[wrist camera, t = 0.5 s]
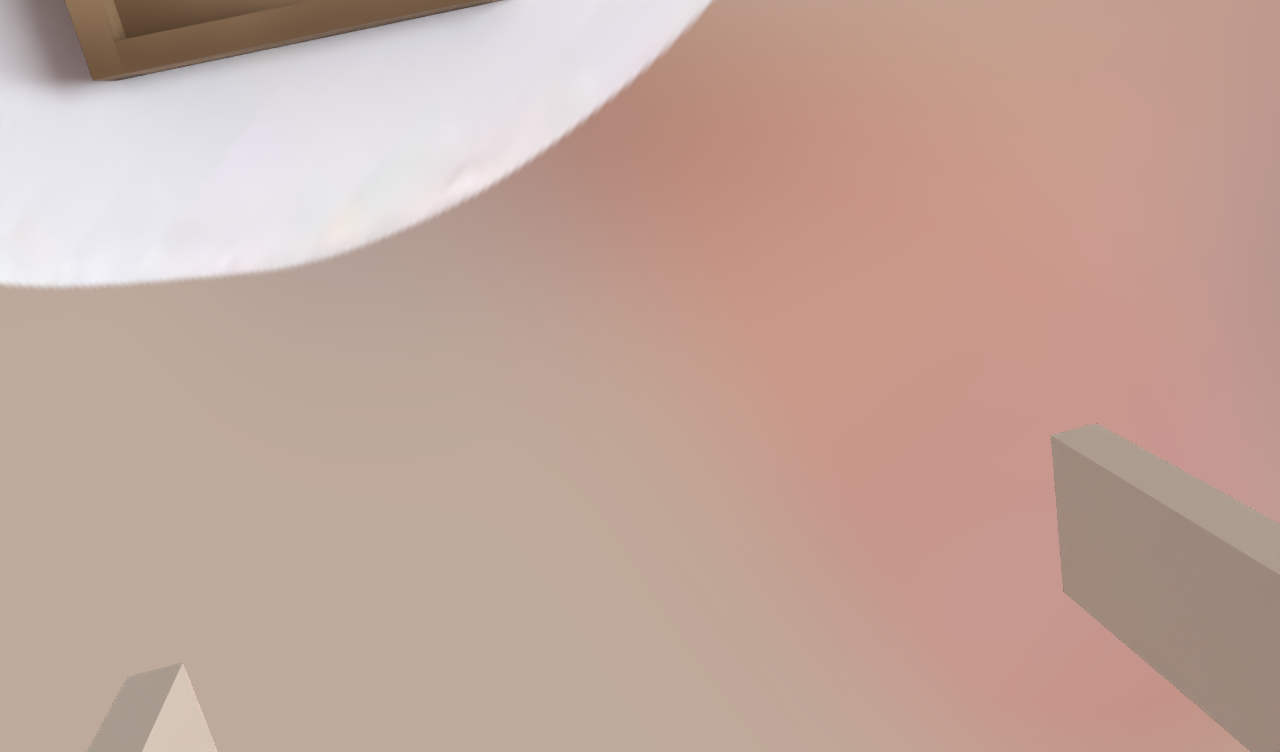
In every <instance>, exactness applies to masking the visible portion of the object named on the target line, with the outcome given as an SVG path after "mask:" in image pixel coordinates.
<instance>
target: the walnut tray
mask: <svg viewBox="0 0 1280 752" xmlns="http://www.w3.org/2000/svg"><path fill="white" fill-rule="evenodd" d="M497 1H502V0H65V2H66V5H67V8H68V11H69V14H70V16H71V19H72V22H73V25H74V28H75V31H76V33H77V36H78V39H79V42H80V45H81V48H82V50H83V53H84V56H85V59H86V62H87V65H88V67H89V70H90V73H91V76H92V79H93V80H122V79H127V78H132V77H137V76H141V75H146V74H151V73H156V72H161V71H165V70H170V69H175V68H180V67H185V66H189V65H194V64H199V63H204V62H209V61H213V60H218V59H223V58H228V57H233V56H237V55H242V54H247V53H252V52H257V51H261V50H266V49H271V48H276V47H281V46H285V45H290V44H295V43H300V42H305V41H309V40H314V39H319V38H324V37H329V36H334V35H338V34H343V33H348V32H353V31H358V30H362V29H367V28H372V27H377V26H382V25H386V24H391V23H396V22H401V21H406V20H410V19H415V18H420V17H425V16H430V15H434V14H439V13H444V12H449V11H454V10H458V9H463V8H468V7H473V6H478V5H482V4H487V3H492V2H497Z"/></svg>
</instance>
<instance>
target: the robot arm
mask: <svg viewBox="0 0 1280 752" xmlns="http://www.w3.org/2000/svg"><path fill="white" fill-rule="evenodd" d="M1051 444H1052V456H1053V468H1054V482H1055V493H1056V507H1057V519H1058V532H1059V544H1060V557H1061V570H1062V582H1063V592H1064V593H1066V594H1067V595H1068V596H1069V597H1070V598H1071V599H1073V600H1074V601H1075V602H1076V603H1077V604H1078V605H1080V606H1081V607H1082V608H1083V609H1084V610H1086V611H1087V612H1088V613H1089V614H1090V615H1091V616H1092V617H1094V618H1095V619H1096V620H1097V621H1098V622H1100V623H1101V624H1102V625H1103V626H1104V627H1105V628H1107V629H1108V630H1109V631H1110V632H1111V633H1112V634H1114V635H1115V636H1116V637H1117V638H1118V639H1119V640H1121V641H1122V642H1123V643H1124V644H1125V645H1126V646H1128V647H1129V648H1130V649H1131V650H1132V651H1134V652H1135V653H1136V654H1137V655H1138V656H1139V657H1141V658H1142V659H1143V660H1144V661H1145V662H1146V663H1148V664H1149V665H1150V666H1151V667H1152V668H1153V669H1155V670H1156V671H1157V672H1158V673H1159V674H1160V675H1162V676H1163V677H1164V678H1165V679H1166V680H1168V681H1169V682H1170V683H1171V684H1172V685H1173V686H1174V687H1176V688H1177V689H1178V690H1179V691H1180V692H1181V693H1183V694H1184V695H1185V696H1186V697H1187V698H1189V699H1190V700H1191V701H1192V702H1193V703H1194V704H1196V705H1197V706H1198V707H1199V708H1200V709H1201V710H1203V711H1204V712H1205V713H1206V714H1207V715H1208V716H1210V717H1211V718H1212V719H1213V720H1214V721H1215V722H1217V723H1218V724H1219V725H1220V726H1222V727H1223V728H1224V729H1225V730H1226V731H1227V732H1228V733H1230V734H1231V735H1232V736H1233V737H1234V738H1235V739H1237V740H1238V741H1239V742H1240V743H1241V744H1242V745H1244V746H1245V747H1246V748H1247V749H1248V750H1250V751H1251V752H1280V523H1278V522H1276V521H1275V520H1273V519H1271V518H1269V517H1267V516H1265V515H1264V514H1262V513H1260V512H1258V511H1256V510H1255V509H1253V508H1251V507H1249V506H1247V505H1245V504H1244V503H1242V502H1240V501H1238V500H1236V499H1234V498H1233V497H1231V496H1229V495H1227V494H1225V493H1223V492H1222V491H1220V490H1218V489H1216V488H1214V487H1213V486H1211V485H1209V484H1207V483H1205V482H1203V481H1202V480H1200V479H1198V478H1196V477H1194V476H1192V475H1191V474H1189V473H1187V472H1185V471H1183V470H1181V469H1180V468H1178V467H1176V466H1174V465H1172V464H1170V463H1169V462H1167V461H1165V460H1163V459H1161V458H1159V457H1158V456H1156V455H1154V454H1152V453H1150V452H1149V451H1147V450H1145V449H1143V448H1141V447H1139V446H1138V445H1136V444H1134V443H1132V442H1130V441H1128V440H1127V439H1125V438H1123V437H1121V436H1119V435H1117V434H1116V433H1114V432H1112V431H1110V430H1108V429H1106V428H1104V427H1103V426H1101V425H1099V424H1097V423H1096V424H1092V425H1088V426H1084V427H1081V428H1077V429H1073V430H1070V431H1066V432H1061V433H1058V434H1054V435H1051ZM87 752H217V749H216V747H215V744H214V742H213V739H212V736H211V734H210V731H209V729H208V726H207V723H206V721H205V718H204V716H203V713H202V711H201V708H200V706H199V703H198V700H197V698H196V696H195V693H194V690H193V688H192V685H191V683H190V680H189V677H188V675H187V672H186V670H185V667H184V665H183V663H180V664H176V665H172V666H168V667H164V668H160V669H157V670H153V671H149V672H145V673H141V674H138V675H134V676H130V677H127V678H126V680H125V682H124V684H123V686H122V688H121V689H120V691H119V693H118V695H117V697H116V699H115V700H114V702H113V704H112V706H111V708H110V710H109V712H108V714H107V716H106V717H105V719H104V721H103V723H102V725H101V727H100V728H99V730H98V732H97V734H96V736H95V738H94V739H93V741H92V743H91V745H90V747H89V749H88V751H87Z"/></svg>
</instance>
